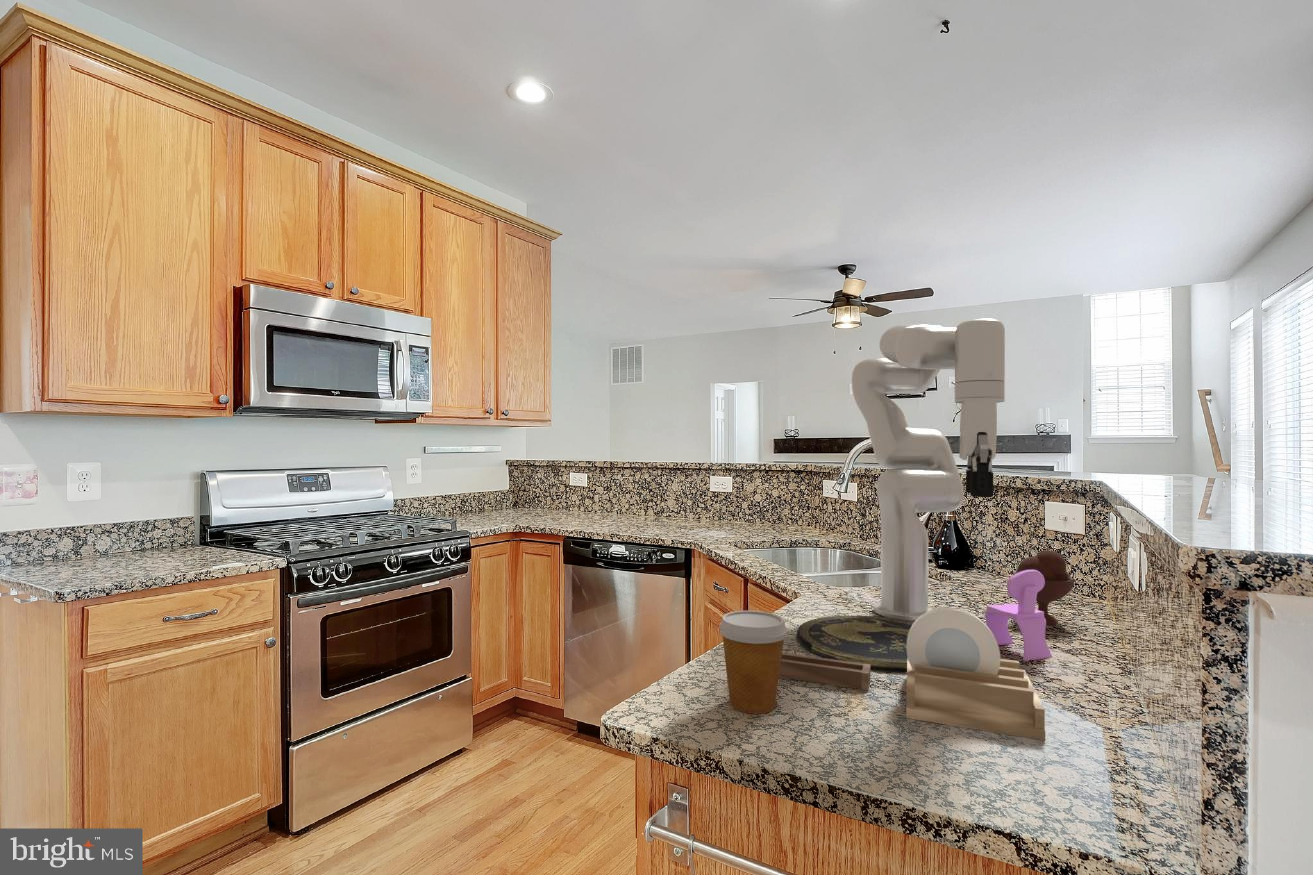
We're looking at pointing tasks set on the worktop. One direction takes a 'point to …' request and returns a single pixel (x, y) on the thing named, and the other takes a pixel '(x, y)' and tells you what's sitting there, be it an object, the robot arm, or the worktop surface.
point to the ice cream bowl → (1049, 579)
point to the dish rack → (976, 699)
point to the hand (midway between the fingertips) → (978, 494)
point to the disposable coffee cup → (753, 658)
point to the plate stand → (825, 671)
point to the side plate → (953, 642)
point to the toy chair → (1021, 615)
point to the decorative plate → (858, 640)
